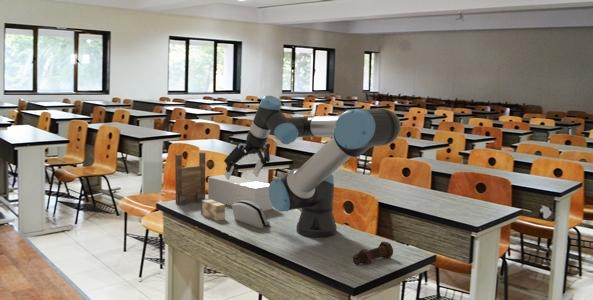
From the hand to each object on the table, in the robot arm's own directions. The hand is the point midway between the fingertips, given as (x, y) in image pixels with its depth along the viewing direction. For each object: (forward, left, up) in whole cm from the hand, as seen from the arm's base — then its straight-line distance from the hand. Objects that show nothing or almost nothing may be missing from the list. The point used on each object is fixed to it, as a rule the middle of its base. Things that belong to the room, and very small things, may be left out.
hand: (241, 176), depth 217 cm
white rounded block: (-6, 0, -18) cm, 19 cm away
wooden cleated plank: (+36, +2, -18) cm, 41 cm away
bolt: (-64, -7, -18) cm, 67 cm away
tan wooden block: (+10, +7, -18) cm, 22 cm away
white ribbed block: (+22, -14, -18) cm, 32 cm away
